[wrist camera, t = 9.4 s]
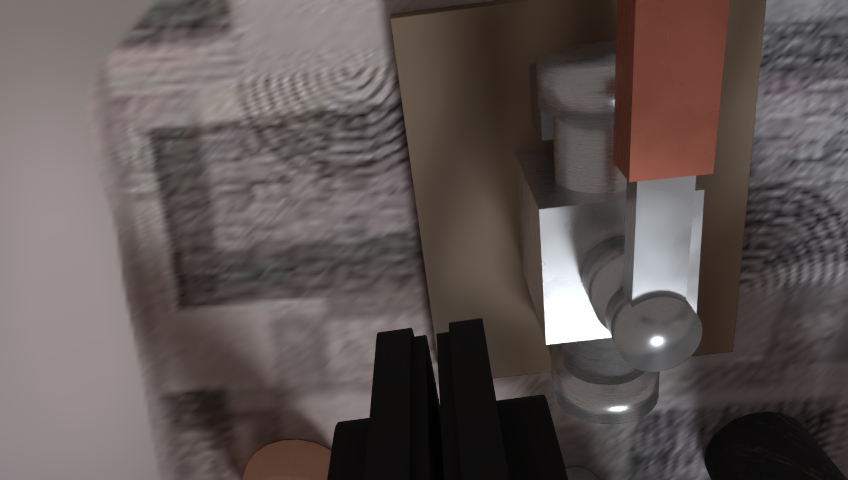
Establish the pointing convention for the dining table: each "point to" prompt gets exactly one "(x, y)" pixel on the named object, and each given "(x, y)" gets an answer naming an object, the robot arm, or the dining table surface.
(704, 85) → the lever
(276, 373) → the dining table surface
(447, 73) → the walnut board
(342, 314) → the dining table surface
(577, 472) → the hip flask
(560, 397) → the valve body
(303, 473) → the salt shaker
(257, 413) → the dining table surface
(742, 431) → the travel mug
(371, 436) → the robot arm
